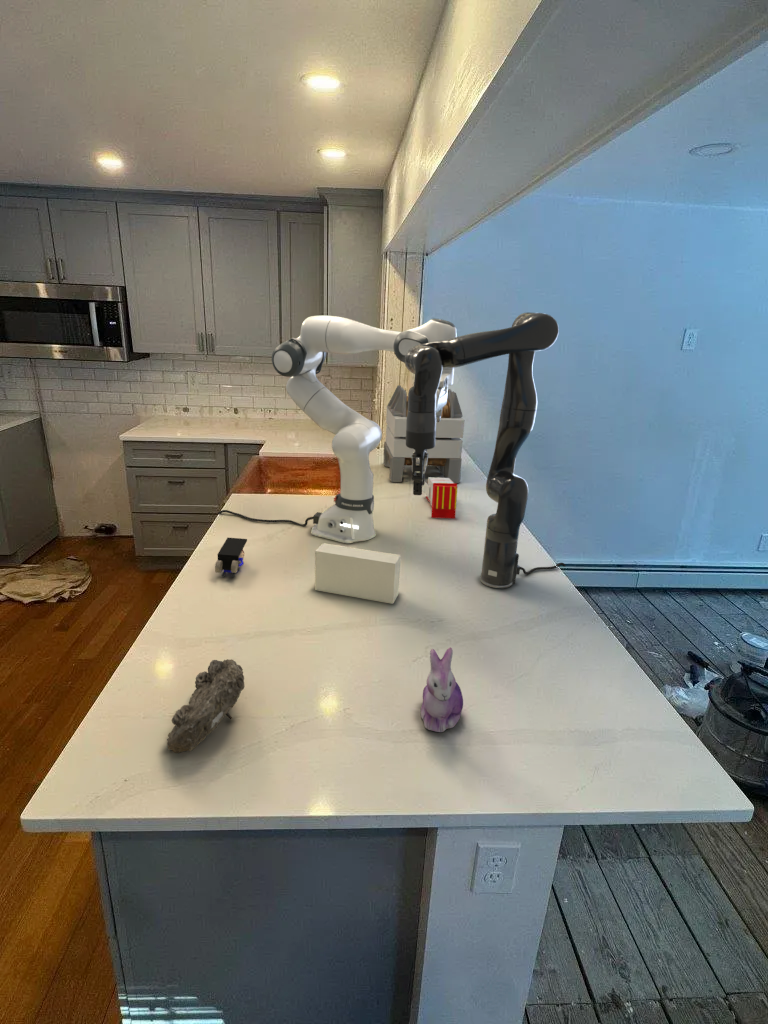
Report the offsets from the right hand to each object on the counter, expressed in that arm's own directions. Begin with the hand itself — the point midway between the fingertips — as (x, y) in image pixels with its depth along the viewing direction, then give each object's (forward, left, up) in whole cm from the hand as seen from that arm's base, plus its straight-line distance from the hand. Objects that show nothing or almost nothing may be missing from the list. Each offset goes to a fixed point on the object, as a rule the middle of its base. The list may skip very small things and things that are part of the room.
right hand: (419, 489), depth 148 cm
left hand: (-15, -25, +12) cm, 31 cm away
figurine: (+14, +49, -31) cm, 60 cm away
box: (+15, -5, -31) cm, 34 cm away
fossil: (+56, +36, -31) cm, 73 cm away
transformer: (-51, -113, -31) cm, 128 cm away
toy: (-39, -65, -31) cm, 82 cm away
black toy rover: (+46, -28, -31) cm, 62 cm away
